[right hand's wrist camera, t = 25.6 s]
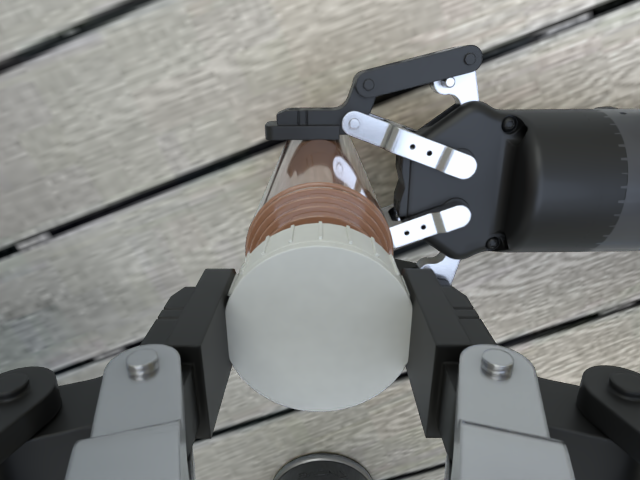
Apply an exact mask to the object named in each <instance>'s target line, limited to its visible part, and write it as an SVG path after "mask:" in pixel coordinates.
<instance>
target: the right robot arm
mask: <svg viewBox="0 0 640 480" xmlns="http://www.w3.org/2000/svg"><path fill="white" fill-rule="evenodd" d="M235 274H236V271H235V269H205V271H204V273H203V275H202V276H201V278H200V280H199V282H198V284H197V285H196V287H184V288H183V289H181V290H180V291H178V292H177V293H175V294H174V295H172V296H171V297H170V299H169V300H168V302H167V304H166V305H165V307H164V310H162V311H161V313H160V315H159V316H158V319H156V321H155V322H154V324H153V326H152V327H151V329H150V330H149V332H148V333H147V335H146V337H145V338H144V340H143V341H142V343H141V344H140V346H137V347H134V348H131V349H128V350H126V351H124V352H122V353H120V354H119V355H117V356H116V357H114V358H113V359H112V360H111V361H110V362H109V363H108V364H107V366H106V367H105V370H104V374H103V376H101V377H98V378H95V379H91V380H87V381H82V382H77V383H72V384H67V385H62V386H58V383H57V380H56V376H55V374H54V373H53V371H51V370H49V369H47V368H44V367H24V368H18V369H14V370H10V371H7V372H4V373H2V374H0V480H196V479H195V464H194V456H193V449H192V446H193V443H194V440H195V438H211V437H212V434H213V430H214V427H215V423H216V420H217V416H218V413H219V409H220V406H221V402H222V399H223V395H224V392H225V389H226V385H227V382H228V378H229V375H230V371H231V368H232V363H231V361H230V359H229V350H228V339H227V327H226V316H225V308H226V304H227V302H228V299H229V296H228V292H229V289H230V287H231V284H232V282H233V279H234V277H235ZM401 276H403V279H404V281H405V284H406V287H407V289H408V292H409V294H410V300H411V303H412V307H413V309H412V321H411V333H410V345H409V357H408V363H407V365H406V369H407V373H408V376H409V380H410V383H411V387H412V390H413V394H414V397H415V401H416V405H417V408H418V412H419V415H420V419H421V422H422V426H423V429H424V433H425V437H426V438H442V440H443V443H444V446H445V449H446V452H447V456H446V463H445V479H444V480H640V374H639V373H637V372H634V371H631V370H628V369H625V368H621V367H616V366H607V365H601V366H594V367H591V368H588V369H587V370H586V371H585V372H584V373H583V376H582V380H581V383H580V386H577V385H572V384H567V383H562V382H557V381H553V380H548V379H544V378H540V377H537V374H536V370H535V367H534V366H533V364H532V363H531V362H530V361H529V360H528V359H527V358H526V357H524V356H523V355H521V354H520V353H518V352H516V351H514V350H512V349H509V348H506V347H503V346H498V345H497V344H496V343H495V341H494V340H493V338H492V336H491V335H490V333H489V332H488V330H487V328H486V327H485V325H484V324H483V322H482V320H481V319H479V316H478V314H477V312H476V311H475V310H473V306H472V304H471V303H470V301H469V300H468V298H467V296H465V295H464V294H462V293H461V292H460V291H458V290H457V289H455V288H454V287H442V286H441V284H440V283H439V281H438V279H437V277H436V275H435V273H434V272H433V270H432V269H418V268H404V269H403V270H402V274H401Z"/></svg>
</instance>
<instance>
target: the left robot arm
mask: <svg viewBox="0 0 640 480" xmlns="http://www.w3.org/2000/svg"><path fill="white" fill-rule="evenodd" d="M482 60H483V55H482V52H481V50H480V49H479V48H478V47H477V46H475V45H466V46H458V47H452V48H448V49H444V50H441V51H437V52H433V53H429V54H425V55H421V56H417V57H413V58H410V59H406V60H402V61H398V62H394V63H390V64H386V65H382V66H379V67H375V68H371V69H367V70H363V71H360V72H358V73H357V74H356V75H355V76H354V78H353V83H352V86H351V89H350V92H349V94H348V97H347V99H346V101H345V102H344V103H343V104H342V105H340V106H338V107H333V108H287V109H285V110H282V111H280V112H278V114H277V121H269V122H267V123H266V124H265V134H266V139H267V140H340V135H350V136H352V137H355V138H358V139H360V140H363V141H366V142H368V143H371V144H374V145H376V146H379V147H381V148H383V149H385V150H387V151H389V152H392V153H394V154H396V168H397V173H398V178H399V179H398V183H397V186H396V189H395V192H394V204H392V205H389V206H386V207H383V208H381V209H382V211H383V214H384V216H385V218H386V221H387V223H388V225H389V228H390V231H391V234H392V239H393V249H395V248H398V247H401V246H403V245H406V244H409V243H412V242H415V241H418V240H421V239H423V240H424V241H426V242H427V243H428V244H430V245H431V246H433V247H434V248H435V249H437V250H438V251H440V253H439V254H438V255H437V256H435V257H431V258H429V257H425V258H422V259H420V260H419V261H418V262H417V263H413V262H408V261H403V260H399V259H394V260H395V263H396V265H397V268H398V270H399V272H400V274H402V270H403V269H404V268H418V269H432V270H433V272H434V273H435V275H436V277H437V279H438V281H439V283H440V284H441V286H442V287H452V281H453V278H454V276H455V273H456V270H457V268H458V265H459V262H460V260H462V259H466V258H468V257H470V256H472V255H475V254H477V253H480V252H484V251H496V252H603V251H638V250H640V109H618V108H613V107H598V108H595V109H531V110H499V109H494V108H492V107H491V106H489V105H487V104H486V103H484V102H481V101H479V96H478V87H477V78H476V70H477V69H478V68H479V67H480V65H481V63H482ZM428 83H430V87H431V89H432V90H433V91H434V92H436V93H439V94H443V95H447V94H450V95H451V96H452V97H453V98H454V99H455V104H454V105H453V106H451V107H450V108H448V109H447V110H445V111H444V112H443V113H441V114H440V115H438V116H437V117H436V118H434V119H433V120H431V121H430V122H429V123H427V124H426V125H424V126H423V127H422V128H420V129H419V130H414V129H412V128H409V127H407V126H404V125H401V124H399V123H396V122H394V121H391V120H388V119H385V118H382V117H379V116H377V115H374V114H371V113H370V112H371V109H372V106H373V104H374V101H375V99H376V96H380V95H384V94H388V93H392V92H396V91H400V90H404V89H408V88H412V87H416V86H420V85H424V84H428ZM396 214H398V215H396ZM405 231H407V232H405ZM274 480H372V478H371V476H370V475H369V473H368V472H367V471H366V470H365V469H364V468H363V467H362V466H361V465H359V464H358V463H357V462H355V461H353V460H351V459H349V458H346V457H343V456H340V455H335V454H325V453H321V454H311V455H306V456H303V457H300V458H297V459H295V460H293V461H291V462H289V463H288V464H286V465H285V466H284V467H283V468H282V469H281V470H280V471H279V472H278V473H277V475H276V476H275V478H274Z"/></svg>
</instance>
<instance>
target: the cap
mask: <svg viewBox="0 0 640 480" xmlns="http://www.w3.org/2000/svg"><path fill="white" fill-rule="evenodd" d="M228 296H229V299H228V302H227V304H226V308H225V316H226V327H227V339H228V350H229V359H230V361H231V363H232V365H233V367H234V369H235V370H236V371H237V373H238V374H239V375H240V377H241V378H242V379H243V380H244V381H245V382H246V383H247V384H248V385H249V386H250V387H251V388H252V389H254V390H255V391H256V392H257V393H259V394H261V395H262V396H264V397H265V398H267V399H269V400H271V401H273V402H275V403H277V404H280V405H283V406H286V407H289V408H293V409H297V410H303V411H313V412H325V411H336V410H341V409H346V408H349V407H353V406H356V405H359V404H361V403H363V402H366V401H368V400H370V399H371V398H373V397H375V396H377V395H378V394H380V393H381V392H382V391H384V390H385V389H386V388H387V387H389V386H390V385H391V384H392V383H393V382H394V381H395V380H396V379H397V377H398V376H399V375H400V374H401V372H402V371H403V369H404V368H405V366H406V365H407V363H408V357H409V345H410V333H411V321H412V309H413V307H412V303H411V300H410V294H409V292H408V289H407V287H406V284H405V281H404V279H403V276H401V274H400V272H399V270H398V268H397V265H396V263H395V260H394V258H393V255H392V254H390V255H389V254H388V253H387V252H386V251H385V250H384V249H383V248H382V247H381V246H380V245H379V244H378V243H376V242H375V239H374V238H373V237H371V238H369V237H368V236H366V235H365V234H363V233H361V232H358V231H356V230H354V229H351V228H350V226H348V225H347V226H346V227H344V226H341V225H335V224H328V223H322V221H319V223H312V224H303V225H298V226H294V225H291V228H288V229H285V230H282V231H280V232H278V233H276V234H274V235H272V236H271V237H270V236H269V235H268V236H267V237H266V239H265V241H263V242H262V243H261V244H260V245H259V246H257V247H256V248H255V249H254V250H253V251H252V253H248V254H247V256H246V258H245V261H244V264H243V265H242V267H241V269H240V271H239V274H235V277H234V279H233V282H232V284H231V287H230V289H229V292H228Z"/></svg>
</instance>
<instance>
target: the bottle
mask: <svg viewBox="0 0 640 480" xmlns="http://www.w3.org/2000/svg"><path fill="white" fill-rule="evenodd" d="M319 221H322V223H328V224H335V225H341V226H344V227H346V226H347V225H348V226H350V228H351V229H354V230H356V231H358V232H361V233H363V234H365V235H366V236H368V237H369V238H371V237H373V238H374V239H375V242H376V243H378V244H379V245H380V246H381V247H382V248H383V249H384V250H385V251H386V252H387V253H388V254H389V255H390V254H392V255H393V239H392V234H391V231H390V228H389V225H388V223H387V221H386V218H385V216H384V214H383V211H382V209H381V207H380V204H379V202H378V200H377V197H376V195H375V193H374V190H373V188H372V186H371V183H370V181H369V179H368V176H367V174H366V172H365V169H364V167H363V165H362V162H361V160H360V158H359V155H358V153H357V151H356V148H355V146H354V144H353V142H352V140H351V138H350V137H349V136H348V135H340V140H287V141H286V144H285V146H284V148H283V150H282V153H281V155H280V157H279V160H278V162H277V164H276V167H275V169H274V171H273V174H272V176H271V178H270V181H269V183H268V185H267V188H266V190H265V192H264V195H263V197H262V199H261V202H260V204H259V206H258V209H257V211H256V213H255V216H254V218H253V220H252V223H251V225H250V227H249V230H248V234H247V237H246V244H245V256H247V254H248V253H252V251H253V250H254V249H255V248H256V247H257V246H259V245H260V244H261V243H262V242H263V241H265V239H266V237H267V236H268V235H269V236H270V237H271V236H272V235H274V234H276V233H278V232H280V231H282V230H285V229H288V228H291V225H294V226H298V225H303V224H312V223H319Z"/></svg>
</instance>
